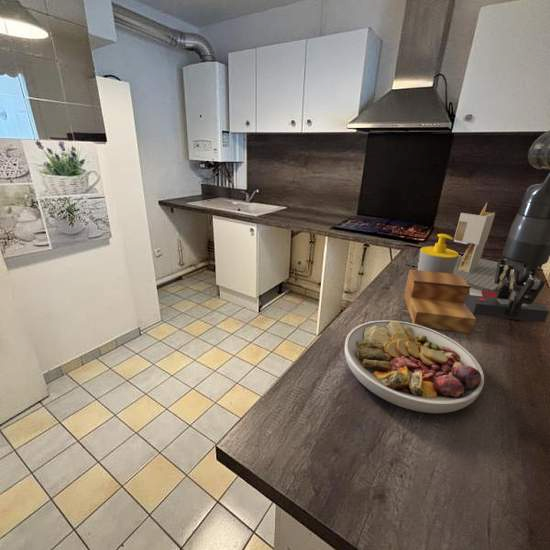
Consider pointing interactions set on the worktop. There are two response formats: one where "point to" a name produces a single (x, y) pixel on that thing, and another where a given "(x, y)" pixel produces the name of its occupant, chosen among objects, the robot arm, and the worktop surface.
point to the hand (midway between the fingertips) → (504, 309)
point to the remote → (499, 306)
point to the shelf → (438, 301)
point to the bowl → (413, 366)
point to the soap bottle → (438, 257)
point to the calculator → (482, 293)
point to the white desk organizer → (475, 250)
